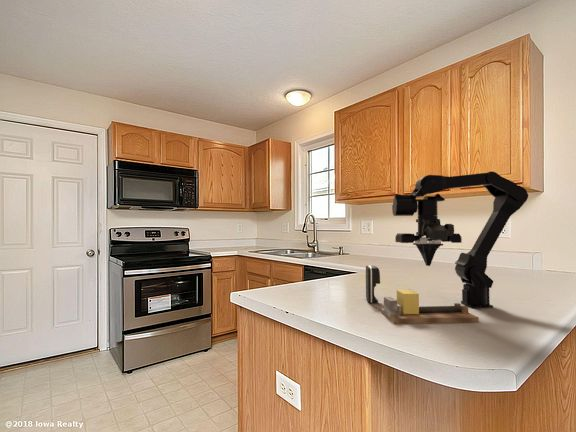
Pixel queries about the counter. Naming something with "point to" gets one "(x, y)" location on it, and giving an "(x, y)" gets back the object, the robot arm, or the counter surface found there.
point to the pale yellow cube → (408, 301)
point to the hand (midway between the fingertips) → (428, 265)
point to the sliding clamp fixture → (427, 313)
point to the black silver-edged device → (371, 282)
